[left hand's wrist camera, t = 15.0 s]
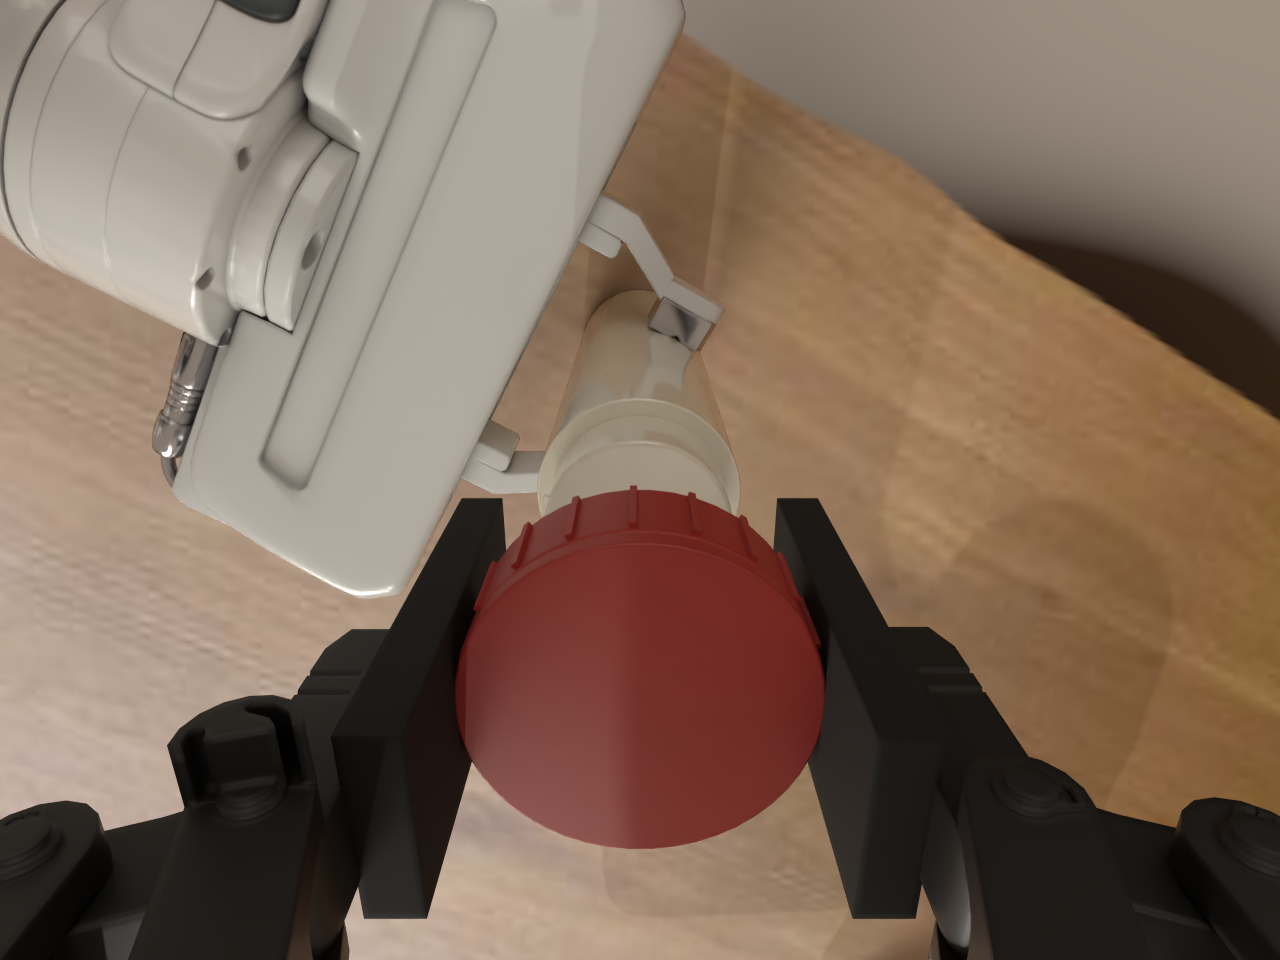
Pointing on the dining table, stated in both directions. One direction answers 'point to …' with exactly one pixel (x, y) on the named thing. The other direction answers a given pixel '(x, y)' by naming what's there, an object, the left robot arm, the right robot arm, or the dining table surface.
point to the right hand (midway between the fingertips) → (664, 407)
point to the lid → (640, 672)
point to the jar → (637, 416)
